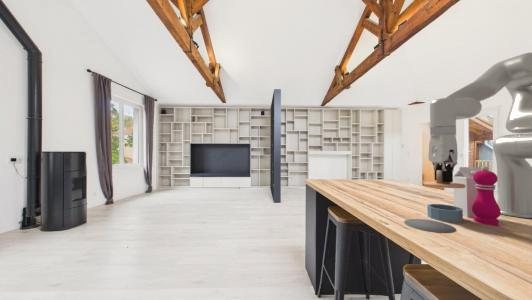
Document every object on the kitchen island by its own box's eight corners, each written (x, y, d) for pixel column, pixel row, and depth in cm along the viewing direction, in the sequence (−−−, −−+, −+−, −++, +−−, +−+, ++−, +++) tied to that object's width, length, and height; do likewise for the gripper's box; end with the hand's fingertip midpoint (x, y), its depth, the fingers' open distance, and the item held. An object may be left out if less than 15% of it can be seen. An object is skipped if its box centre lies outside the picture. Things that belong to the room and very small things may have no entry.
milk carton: (453, 213, 88) (452, 166, 89) (473, 213, 87) (472, 166, 88) (467, 218, 81) (466, 167, 82) (489, 219, 80) (487, 167, 81)
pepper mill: (507, 227, 71) (506, 166, 72) (481, 226, 73) (480, 166, 73) (489, 220, 79) (488, 165, 79) (466, 219, 80) (465, 165, 80)
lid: (451, 183, 86) (451, 169, 86) (474, 188, 74) (473, 172, 74) (417, 182, 88) (417, 169, 88) (434, 187, 76) (433, 171, 76)
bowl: (451, 216, 85) (451, 204, 85) (470, 224, 75) (469, 211, 75) (422, 214, 87) (422, 203, 87) (437, 222, 77) (436, 210, 77)
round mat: (440, 221, 78) (440, 220, 79) (467, 236, 65) (467, 234, 65) (397, 219, 81) (397, 218, 81) (415, 233, 68) (415, 231, 68)
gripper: (420, 134, 90) (420, 178, 90) (444, 130, 74) (445, 184, 74) (441, 133, 89) (441, 178, 88) (470, 129, 72) (471, 184, 72)
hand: (443, 180), depth 81 cm, fingers closed on lid, 4 cm apart
